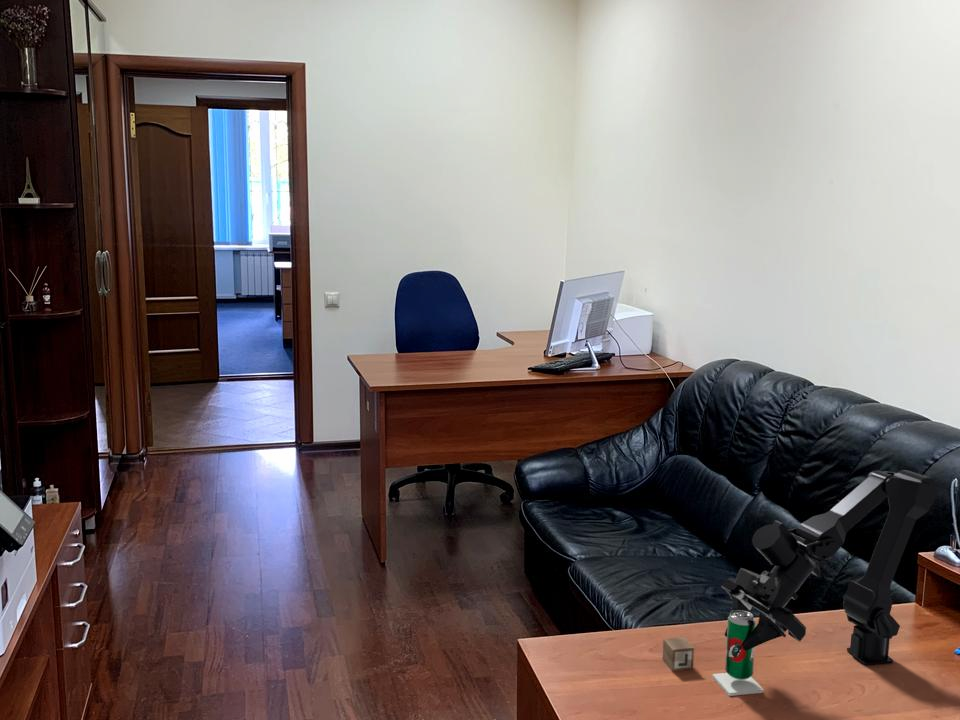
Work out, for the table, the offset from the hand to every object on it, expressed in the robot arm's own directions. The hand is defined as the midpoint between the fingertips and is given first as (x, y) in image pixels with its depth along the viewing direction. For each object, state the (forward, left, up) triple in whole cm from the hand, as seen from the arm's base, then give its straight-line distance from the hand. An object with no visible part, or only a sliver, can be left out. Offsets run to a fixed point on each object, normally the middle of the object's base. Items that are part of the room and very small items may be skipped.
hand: (734, 642), depth 166 cm
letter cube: (+7, -10, -9) cm, 15 cm away
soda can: (-1, 0, -7) cm, 7 cm away
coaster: (-1, 0, -9) cm, 9 cm away
